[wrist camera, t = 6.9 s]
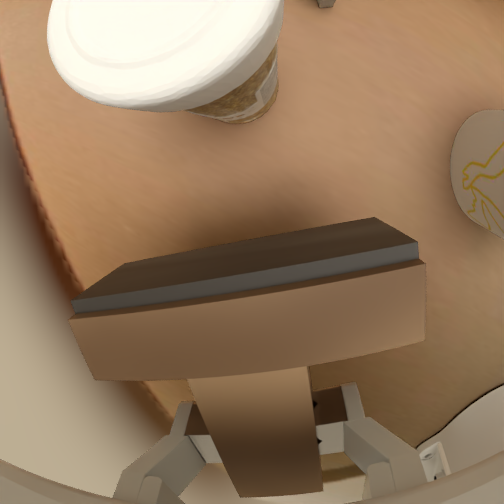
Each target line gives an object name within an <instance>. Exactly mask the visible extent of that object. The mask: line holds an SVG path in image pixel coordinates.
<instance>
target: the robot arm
mask: <svg viewBox="0 0 504 504" xmlns="http://www.w3.org/2000/svg"><path fill="white" fill-rule="evenodd" d="M312 399H313V406H314V418H315V427H316V434H317V441H318V449H319V455H323V454H330V453H337V452H343V451H344V453H345V454H346V455H347V456H348V457H349V458H350V459H351V460H352V461H353V462H354V463H355V464H356V465H357V466H358V467H359V468H360V469H361V470H362V471H363V472H364V473H365V474H366V479H365V485H364V491H363V500H362V501H357V502H352V503H346V504H504V385H503V386H501V387H499V388H497V389H495V390H493V391H492V392H490V393H488V394H487V395H485V396H483V397H482V398H480V399H479V400H477V401H476V402H475V403H473V404H472V405H471V406H469V407H468V408H467V409H465V410H464V411H463V412H462V413H461V414H459V415H458V416H457V417H456V418H455V419H454V420H453V421H452V422H451V423H450V424H449V425H448V426H446V427H445V428H444V429H443V430H442V431H441V432H440V433H438V434H437V435H435V436H434V437H432V438H430V439H429V440H427V441H425V442H424V443H422V444H421V445H420V446H419V447H418V448H417V449H414V448H413V447H411V446H410V445H409V444H407V443H406V442H404V441H403V440H401V439H400V438H399V437H397V436H396V435H394V434H393V433H392V432H390V431H389V430H387V429H386V428H385V427H383V426H382V425H381V424H379V423H378V422H376V421H375V420H374V419H372V418H371V417H365V414H364V410H363V406H362V402H361V399H360V395H359V391H358V387H357V384H356V382H351V383H346V384H341V385H335V386H330V387H325V388H319V389H314V390H312ZM206 463H223V462H222V460H221V458H220V456H219V454H218V451H217V449H216V447H215V445H214V443H213V440H212V438H211V436H210V434H209V432H208V429H207V427H206V425H205V422H204V420H203V418H202V415H201V413H200V411H199V408H198V406H197V403H196V401H182V402H181V403H180V404H179V406H178V409H177V412H176V416H175V419H174V422H173V425H172V429H171V432H170V435H166V436H164V437H163V438H162V439H161V440H160V441H159V442H157V443H156V444H155V445H154V446H153V447H152V448H150V449H149V450H148V451H147V452H145V453H144V454H143V455H142V456H141V457H140V458H138V459H137V460H136V461H134V462H133V463H132V464H131V465H130V466H128V467H127V468H126V469H125V470H123V471H122V474H121V477H120V479H119V482H118V484H117V487H116V490H115V492H114V495H113V498H110V497H105V496H101V495H98V494H94V493H90V492H86V491H83V490H79V489H76V488H73V487H70V486H67V485H63V484H60V483H57V482H55V481H52V480H49V479H46V478H43V477H41V476H38V475H36V474H33V473H31V472H28V471H26V470H24V469H21V468H19V467H16V466H14V465H12V464H10V463H8V462H6V461H4V460H1V459H0V504H185V503H184V502H183V501H182V500H181V499H180V498H179V497H178V496H179V495H180V494H181V493H182V492H183V491H184V489H185V488H186V487H187V486H188V485H189V484H190V482H191V481H192V480H193V479H194V478H195V477H196V476H197V474H198V473H199V472H200V471H201V470H202V468H203V467H204V466H205V465H206Z"/></svg>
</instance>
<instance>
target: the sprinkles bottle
mask: <svg viewBox="0 0 504 504" xmlns="http://www.w3.org/2000/svg"><path fill="white" fill-rule="evenodd" d="M283 14H284V0H53V2H52V5H51V9H50V13H49V18H48V26H47V42H48V47H49V52H50V56H51V58H52V61H53V64H54V66H55V68H56V70H57V71H58V73H59V74H60V76H61V77H62V78H63V80H64V81H65V82H66V83H67V84H68V85H69V86H70V87H71V88H72V89H73V90H75V91H76V92H77V93H79V94H81V95H82V96H84V97H85V98H87V99H89V100H91V101H94V102H96V103H100V104H103V105H107V106H112V107H118V108H124V109H132V110H140V111H150V112H175V111H181V110H184V111H187V112H190V113H193V114H197V115H201V116H206V117H210V118H214V119H218V120H220V121H223V122H227V123H234V124H237V123H247V122H250V121H253V120H255V119H257V118H259V117H261V116H262V115H263V114H264V113H266V112H267V111H268V110H269V108H270V107H271V105H272V104H273V103H274V101H275V100H276V95H277V92H278V77H277V39H278V37H279V34H280V30H281V26H282V22H283Z"/></svg>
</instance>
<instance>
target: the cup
mask: <svg viewBox="0 0 504 504" xmlns="http://www.w3.org/2000/svg"><path fill="white" fill-rule="evenodd" d="M450 176H451V183H452V188H453V192H454V195H455V197H456V200H457V202H458V204H459V206H460V208H461V209H462V211H463V212H464V213H465V214H466V215H467V216H468V217H469V218H470V219H471V220H472V221H474V222H475V223H477V224H479V225H480V226H482V227H484V228H486V229H487V230H489V231H491V232H492V233H494V234H495V235H497V236H499V237H500V238H502V239H503V240H504V110H483V111H479V112H477V113H475V114H473V115H471V116H470V117H469V118H468V119H467V120H466V121H465V122H464V123H463V124H462V126H461V127H460V129H459V131H458V133H457V135H456V137H455V140H454V143H453V147H452V151H451V158H450Z"/></svg>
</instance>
